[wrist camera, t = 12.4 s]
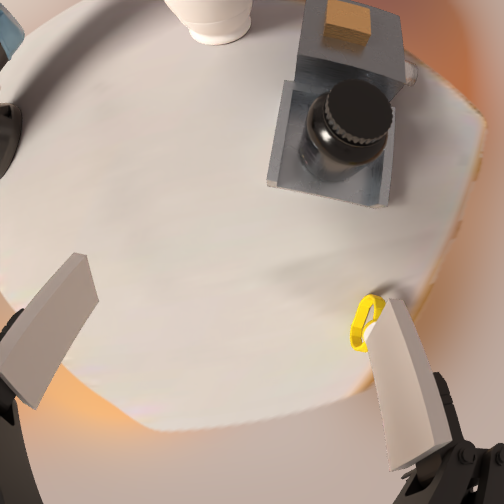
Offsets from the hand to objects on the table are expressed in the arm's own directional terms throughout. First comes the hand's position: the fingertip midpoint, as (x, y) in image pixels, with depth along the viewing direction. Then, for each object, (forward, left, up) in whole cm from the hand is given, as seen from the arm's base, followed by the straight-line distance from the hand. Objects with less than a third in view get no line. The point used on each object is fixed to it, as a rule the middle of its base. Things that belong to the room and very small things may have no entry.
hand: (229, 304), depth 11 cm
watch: (+13, -4, -19) cm, 23 cm away
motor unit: (+7, +18, -19) cm, 27 cm away
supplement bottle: (+6, +13, -18) cm, 23 cm away
